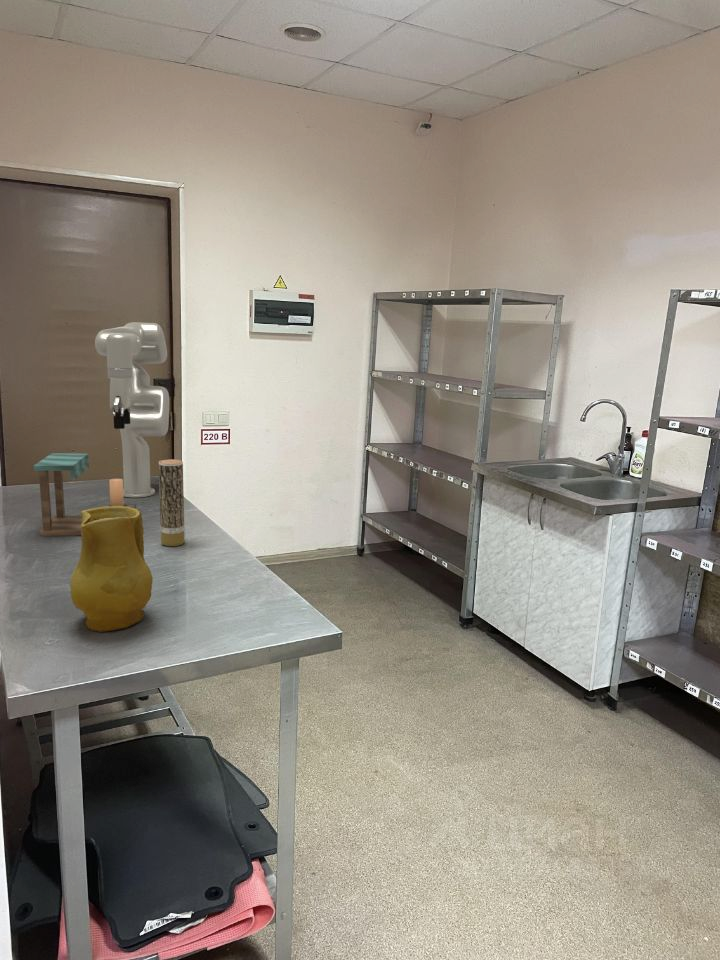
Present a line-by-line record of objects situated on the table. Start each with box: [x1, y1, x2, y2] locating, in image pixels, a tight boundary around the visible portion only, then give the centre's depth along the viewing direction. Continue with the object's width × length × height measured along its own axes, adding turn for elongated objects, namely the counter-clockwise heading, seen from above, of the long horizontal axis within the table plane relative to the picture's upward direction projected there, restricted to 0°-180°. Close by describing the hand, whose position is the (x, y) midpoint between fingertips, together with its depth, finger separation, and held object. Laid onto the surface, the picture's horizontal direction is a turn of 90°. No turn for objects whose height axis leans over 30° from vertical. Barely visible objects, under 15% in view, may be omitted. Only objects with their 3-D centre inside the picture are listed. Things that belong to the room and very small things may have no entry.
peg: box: [108, 478, 125, 507], centre depth 214 cm, size 4×4×14 cm
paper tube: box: [158, 459, 185, 547], centre depth 200 cm, size 7×7×25 cm
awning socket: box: [33, 452, 137, 537], centre depth 212 cm, size 18×27×22 cm, turn 98°
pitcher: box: [69, 506, 153, 633], centre depth 149 cm, size 17×19×25 cm
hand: (122, 426), depth 222 cm, fingers open, 9 cm apart
